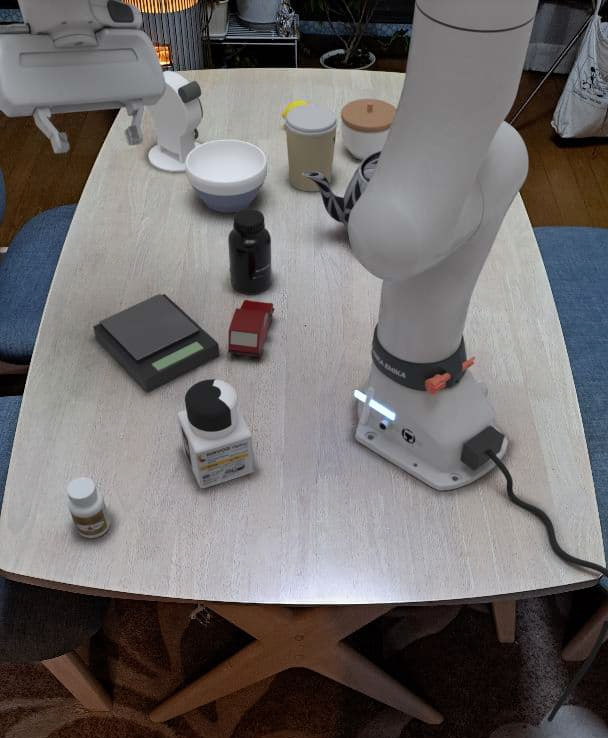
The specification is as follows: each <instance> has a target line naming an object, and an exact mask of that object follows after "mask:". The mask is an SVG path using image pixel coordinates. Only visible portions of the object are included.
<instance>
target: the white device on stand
mask: <svg viewBox="0 0 608 738" xmlns="http://www.w3.org/2000/svg"><path fill="white" fill-rule="evenodd" d="M160 65H161V68H162V71H163V74H164V78H165V82H166V90H165V92H164V95H163V97H162V98H161V99H160V100H159V101H158V102H157V103H156V104H155V105H151V106H147V108H148V111H149V113H150V115H151V117H152V119H153V120H154V123H155V129H156V130H155V131H156V138H157V144H156V145H154V146H153V147H152V148H151V149H149V152H148V161H149V163H150V164H151V165H152V166H153V167H154V168H156V169H158V170H160V171H164V172H167V173H169V172H170V173H183V172H186V170H185V162H186V157H187V155H188V154H189V153H190V152H191V151H192V150H193V149H194V148H196V147H197V146H199V145H201V144H202V143H200V142H198V141H196V140H197V139H198V138H199V137H200V135H199V130H198V127H199V126H200V124H201V122H202V119H203V117H204V111H203V105H202V102H201V100H200V97H201V96H202V89H201V86H200V84H199V83H198V81H196V80H193V81H188V80H187V79H186V78H185V77H184V76H182V75H181V74H179V73H177V72H175V71H172V70H165V69H164V67H163V65H162V64H161V63H160ZM164 70H165V71H164Z"/></svg>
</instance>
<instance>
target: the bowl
mask: <svg viewBox="0 0 608 738" xmlns="http://www.w3.org/2000/svg"><path fill="white" fill-rule="evenodd" d="M200 144H201V145H199V146H197V147H196V148H194V149H193V150H192V151H191V152H190V153H189V154H188V155H187V157H186V162H185V170H186V171H185V175H186V178H187V181H188V183H189V184H190V186H191V187H192V190H193V191H195V192H196V194H197V196H198V197H199V198H200V199H201V200H202V201H203V202H204V203H205V205H206V206H207V207H208V208H209V209H211V210H213V211H216V212H219V213H236V212H238V211H240V210H243V209H248V207H250V205H251V204H252V203H253V201H254V199H255V198H256V197H257V195H258V194H259V193H260V190H261V188H262V187H263V185H264V184H265V180H266V179H267V176H268V160H267V156H266V154H265V153H264V151H263V150H262V149H261V148H259V147H258V146H256V145H255V144H253V143H250V142H247V141H244V140H239V139H229V138H228V139H227V138H226V139H215V140H210V141H207V142H204V143H200Z"/></svg>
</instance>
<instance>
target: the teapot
mask: <svg viewBox="0 0 608 738" xmlns="http://www.w3.org/2000/svg"><path fill="white" fill-rule="evenodd" d="M381 152H382V151H378V152H375V153H373V154H371V155H369V156H368V157H366V158H365V159H364V160H361V162H360V163H359V165H358V167H357V168H356V170H355V171H354V172H353V175H352V177H351V179H350V180H349V182H348V185H347V187H346V190H345V192H344V195H343V196H338V195H336V194H335V193H334V192H333V190H332V188H331V185H330V184H329V182H328V180H327V178H326V177H325V176H324V175H323V174H321V173H319V172H304V173H302V175H303V176H305V177H307V178H309V179H311V180H313V181H314V182H315V183H316V184H317V186H318V188H319V193H320V196H321V200H322V203H323V206H324V209H325V211H326V212H327V214H328V215H329V216H330V217H331V218H332V219H333V220H334V221H335V222H338V223H341V224H343V226H344V228H345V230H346V232H348V221H349V216H350V213H351V211H352V209H353V207H354V205H355V204H356V202H357V201H358V199H359V198H360V196H361V195H362V193H363V191H364V190H365V188H366V186H367V184H368V182H369V180H370V178H371V176H372V174H373V172H374V170H375V167H376V165H377V162H378V159H379V157H380V154H381Z"/></svg>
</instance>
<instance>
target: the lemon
mask: <svg viewBox="0 0 608 738" xmlns="http://www.w3.org/2000/svg"><path fill="white" fill-rule="evenodd" d="M305 104H310V103H309V102H308V101H305V100H302V99H301V100H300V99H298V100H293V101H291V102H290V103H289V104H288V105H287V106H286V107H285V108H284V110H283V111H282V113H281V117H282V118H283V120H284V121H285V118H286V116H287V114H288V112H289V111H290V110H291V109H293V108H294V107H297V106H300V105H305Z"/></svg>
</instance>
